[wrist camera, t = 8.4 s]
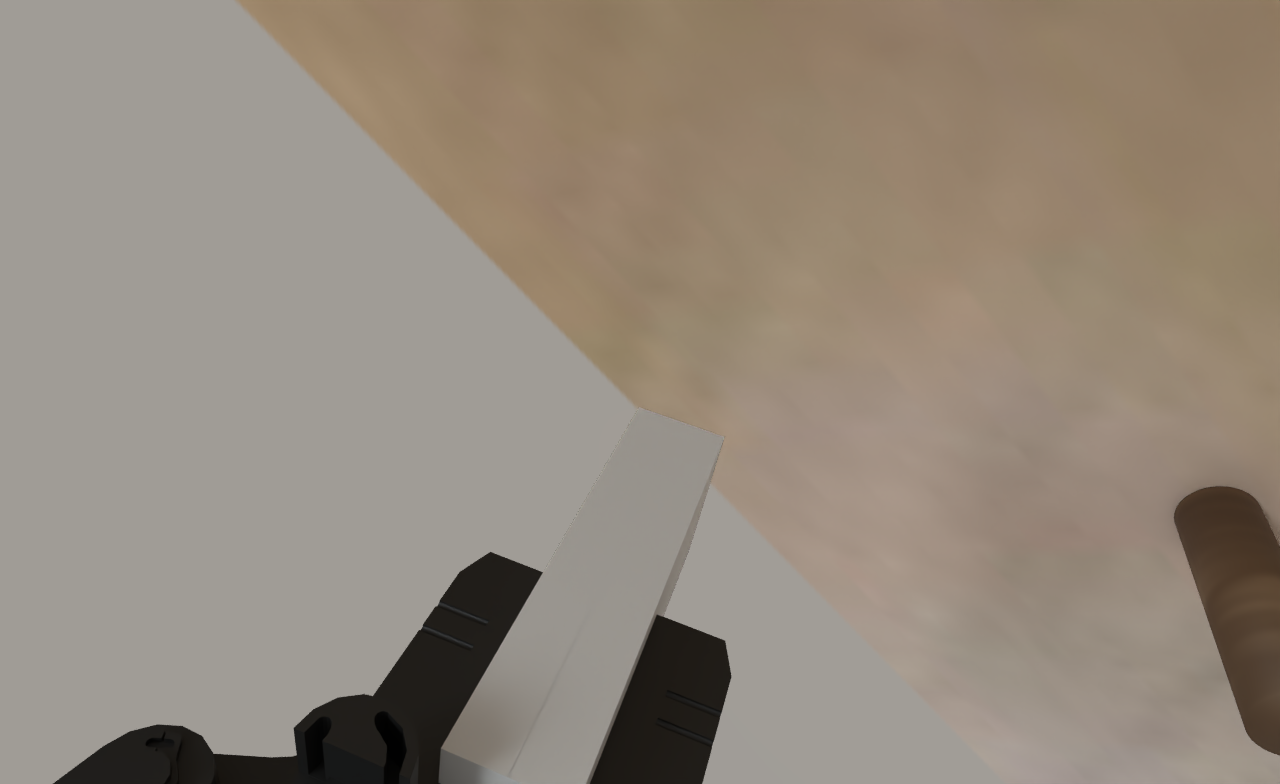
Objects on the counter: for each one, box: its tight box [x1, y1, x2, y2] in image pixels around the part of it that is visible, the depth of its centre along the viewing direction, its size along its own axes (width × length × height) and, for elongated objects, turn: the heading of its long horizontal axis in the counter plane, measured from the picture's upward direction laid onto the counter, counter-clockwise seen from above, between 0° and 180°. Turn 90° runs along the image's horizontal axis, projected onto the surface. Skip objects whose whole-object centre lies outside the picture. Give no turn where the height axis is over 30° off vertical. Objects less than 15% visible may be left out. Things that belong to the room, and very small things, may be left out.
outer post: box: [1174, 487, 1280, 755], centre depth 25 cm, size 3×3×9 cm
